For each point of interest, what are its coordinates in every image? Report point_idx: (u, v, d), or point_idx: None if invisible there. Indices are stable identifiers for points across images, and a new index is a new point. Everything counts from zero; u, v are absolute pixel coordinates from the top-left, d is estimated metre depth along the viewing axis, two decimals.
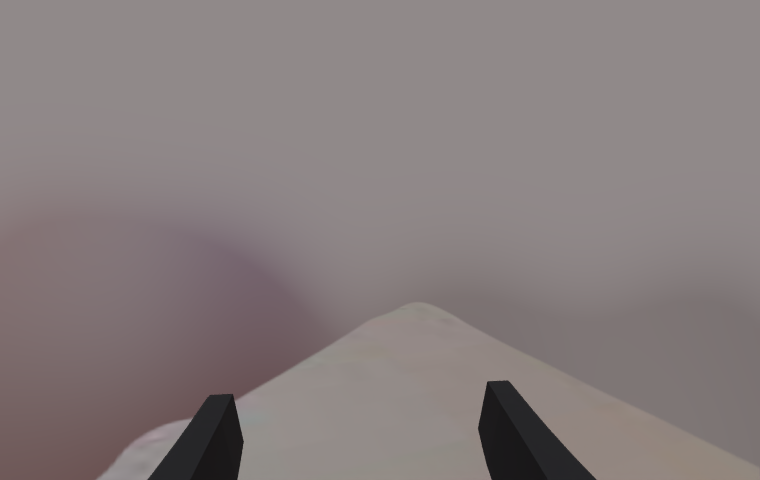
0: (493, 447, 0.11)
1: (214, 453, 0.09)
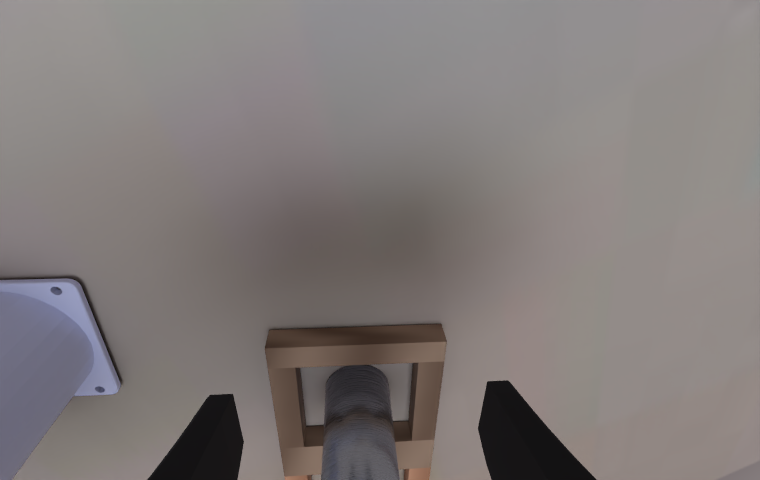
0: (493, 447, 0.11)
1: (214, 453, 0.09)
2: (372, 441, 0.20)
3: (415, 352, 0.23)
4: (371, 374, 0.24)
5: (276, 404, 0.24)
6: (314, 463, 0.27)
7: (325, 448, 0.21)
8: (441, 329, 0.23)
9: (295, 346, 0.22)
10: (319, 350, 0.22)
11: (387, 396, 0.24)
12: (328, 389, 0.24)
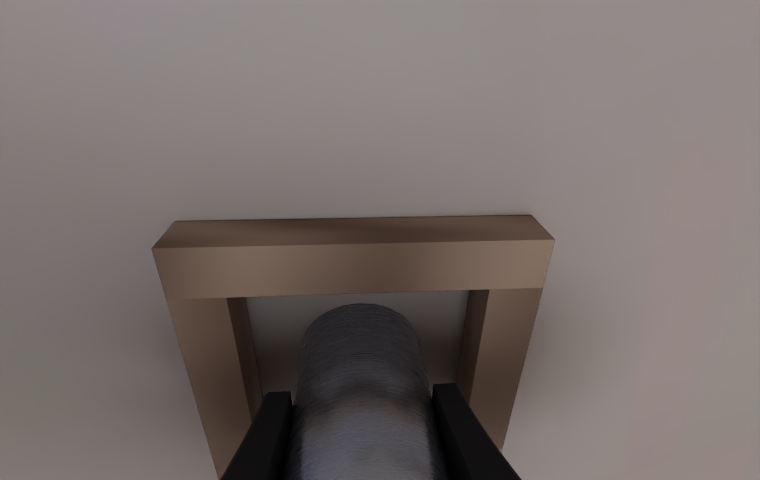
0: None
1: (280, 449, 0.10)
2: (399, 460, 0.08)
3: (485, 265, 0.11)
4: (388, 321, 0.12)
5: (196, 380, 0.12)
6: None
7: (286, 476, 0.09)
8: (535, 222, 0.11)
9: (221, 246, 0.10)
10: (275, 256, 0.10)
11: (421, 364, 0.12)
12: (303, 351, 0.12)
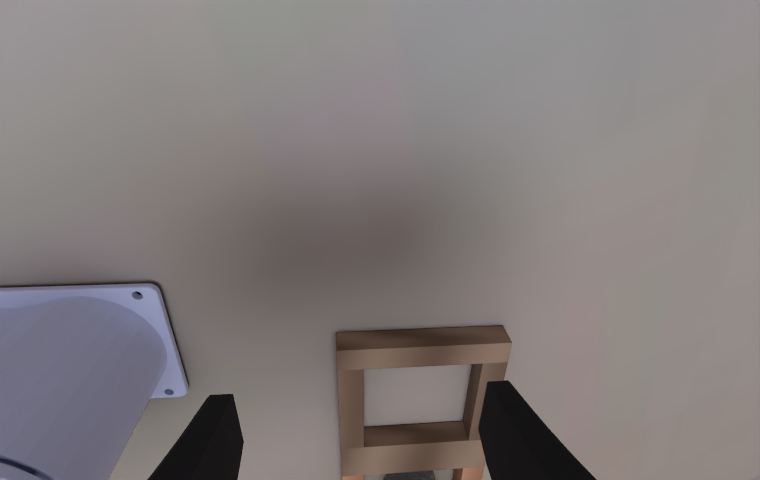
0: (493, 447, 0.11)
1: (214, 453, 0.09)
2: None
3: (480, 353, 0.23)
4: (426, 474, 0.30)
5: (341, 405, 0.24)
6: (372, 463, 0.27)
7: None
8: (504, 330, 0.24)
9: (365, 349, 0.22)
10: (388, 352, 0.22)
11: None
12: None
